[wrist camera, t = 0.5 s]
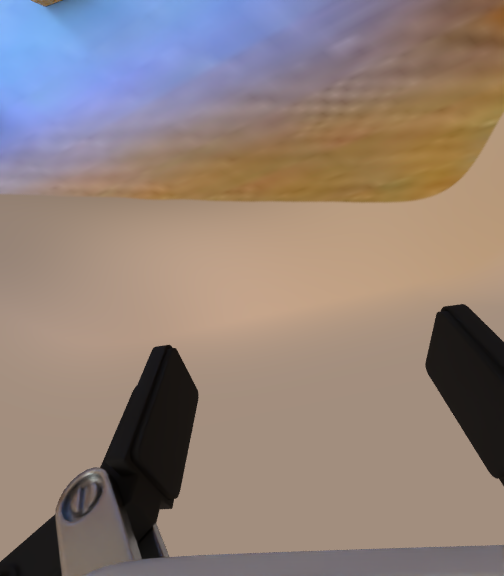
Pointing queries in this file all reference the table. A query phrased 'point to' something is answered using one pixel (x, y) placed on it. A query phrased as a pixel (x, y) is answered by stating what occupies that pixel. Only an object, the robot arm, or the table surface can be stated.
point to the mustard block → (45, 2)
